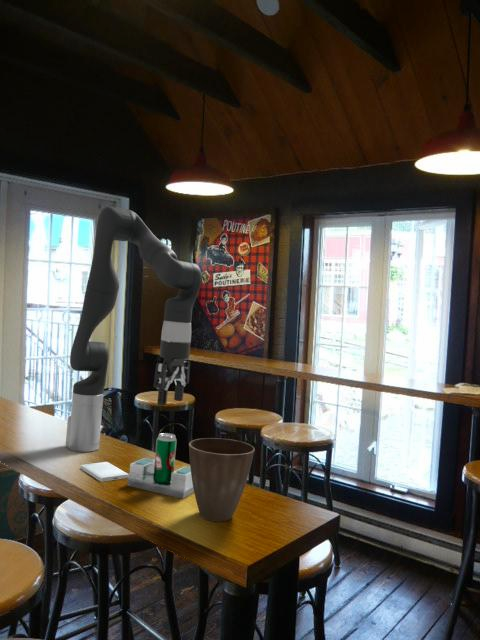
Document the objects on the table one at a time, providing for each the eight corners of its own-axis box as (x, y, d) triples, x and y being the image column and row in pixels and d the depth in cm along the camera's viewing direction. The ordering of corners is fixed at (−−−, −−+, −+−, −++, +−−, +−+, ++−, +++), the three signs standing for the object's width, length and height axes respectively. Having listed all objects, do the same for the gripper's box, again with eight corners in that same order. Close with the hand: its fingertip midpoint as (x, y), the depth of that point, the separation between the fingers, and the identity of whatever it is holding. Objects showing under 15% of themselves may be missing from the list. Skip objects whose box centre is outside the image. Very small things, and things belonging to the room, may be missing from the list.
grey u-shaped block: (127, 485, 139) (129, 462, 139) (144, 477, 147) (146, 456, 147) (183, 498, 133) (185, 475, 133) (197, 489, 141) (199, 467, 141)
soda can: (150, 478, 141) (154, 432, 141) (169, 478, 143) (173, 432, 143) (155, 485, 137) (160, 437, 136) (175, 484, 139) (179, 437, 138)
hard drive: (80, 464, 150) (101, 477, 140) (108, 461, 155) (129, 473, 146) (80, 470, 150) (101, 483, 140) (107, 467, 155) (129, 479, 146)
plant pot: (169, 512, 124) (175, 442, 124) (214, 499, 135) (220, 434, 135) (216, 534, 114) (223, 458, 114) (261, 518, 125) (267, 449, 125)
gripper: (176, 337, 147) (170, 397, 148) (148, 338, 134) (142, 404, 134) (201, 340, 145) (195, 401, 145) (175, 341, 131) (169, 408, 132)
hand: (170, 402), depth 140 cm, fingers open, 8 cm apart
